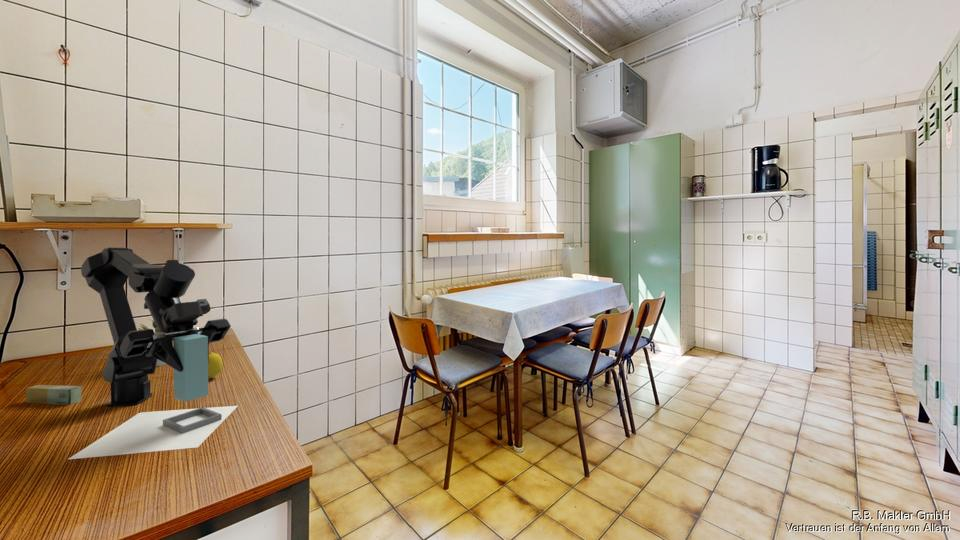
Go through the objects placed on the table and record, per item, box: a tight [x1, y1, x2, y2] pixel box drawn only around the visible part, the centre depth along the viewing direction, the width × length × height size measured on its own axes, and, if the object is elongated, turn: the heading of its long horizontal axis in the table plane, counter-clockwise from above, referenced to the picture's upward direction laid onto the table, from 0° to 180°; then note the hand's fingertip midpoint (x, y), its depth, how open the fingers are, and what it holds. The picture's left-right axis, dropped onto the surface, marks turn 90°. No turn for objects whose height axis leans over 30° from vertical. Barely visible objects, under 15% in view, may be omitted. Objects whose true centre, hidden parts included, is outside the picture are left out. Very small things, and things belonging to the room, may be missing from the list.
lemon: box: [208, 351, 224, 379], centre depth 112 cm, size 6×6×8 cm
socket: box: [163, 406, 222, 434], centre depth 81 cm, size 8×8×1 cm
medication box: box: [25, 384, 83, 406], centre depth 93 cm, size 12×3×4 cm, turn 87°
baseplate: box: [67, 405, 238, 460], centre depth 79 cm, size 20×20×1 cm
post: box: [173, 334, 209, 403], centre depth 81 cm, size 4×4×13 cm
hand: (194, 367), depth 80 cm, fingers closed on post, 4 cm apart
